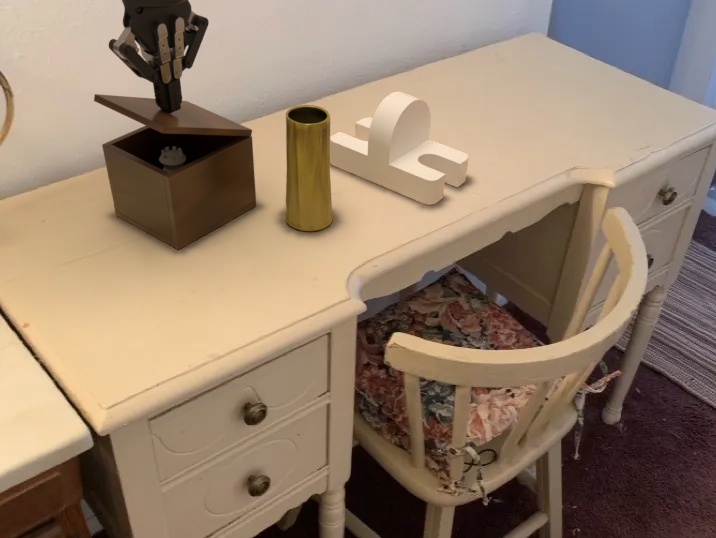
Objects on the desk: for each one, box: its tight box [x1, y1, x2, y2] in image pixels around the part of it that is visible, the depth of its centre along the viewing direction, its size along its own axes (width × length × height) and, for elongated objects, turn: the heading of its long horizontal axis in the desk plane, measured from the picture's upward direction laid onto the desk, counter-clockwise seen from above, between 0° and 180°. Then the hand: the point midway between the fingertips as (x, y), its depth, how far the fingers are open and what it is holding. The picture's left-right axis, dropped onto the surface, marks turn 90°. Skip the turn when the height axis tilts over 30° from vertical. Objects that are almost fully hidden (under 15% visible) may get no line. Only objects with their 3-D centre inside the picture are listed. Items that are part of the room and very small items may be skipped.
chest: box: [101, 125, 257, 250], centre depth 105 cm, size 14×12×10 cm
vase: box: [284, 104, 334, 232], centre depth 103 cm, size 6×6×14 cm
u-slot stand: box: [330, 90, 470, 206], centre depth 114 cm, size 10×18×11 cm, turn 54°
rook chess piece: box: [159, 146, 186, 173], centre depth 104 cm, size 4×4×8 cm
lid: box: [93, 93, 253, 136], centre depth 99 cm, size 14×12×1 cm
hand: (170, 109), depth 98 cm, fingers closed
